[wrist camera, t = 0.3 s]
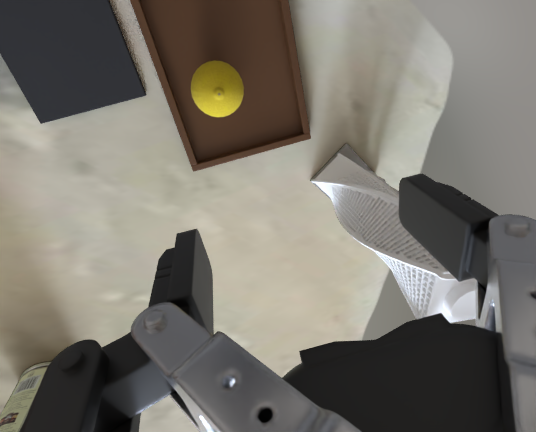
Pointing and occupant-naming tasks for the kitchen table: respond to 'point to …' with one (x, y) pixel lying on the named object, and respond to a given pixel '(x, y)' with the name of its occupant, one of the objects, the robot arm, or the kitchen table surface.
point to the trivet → (67, 55)
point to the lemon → (217, 88)
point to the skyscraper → (392, 238)
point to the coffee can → (22, 398)
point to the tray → (241, 59)
